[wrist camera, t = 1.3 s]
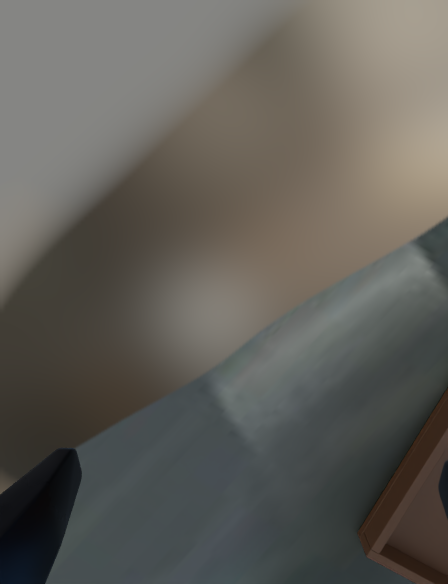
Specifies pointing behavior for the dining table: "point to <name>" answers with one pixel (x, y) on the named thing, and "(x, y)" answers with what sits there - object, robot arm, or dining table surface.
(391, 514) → the tray
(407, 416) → the dining table surface
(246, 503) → the dining table surface
